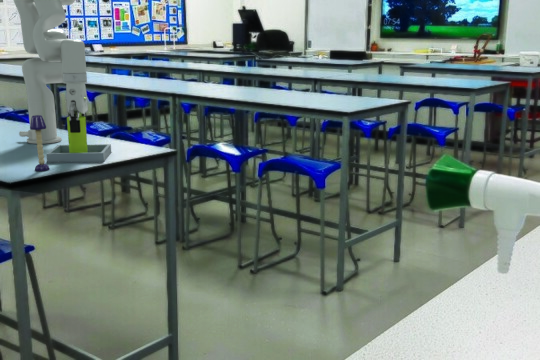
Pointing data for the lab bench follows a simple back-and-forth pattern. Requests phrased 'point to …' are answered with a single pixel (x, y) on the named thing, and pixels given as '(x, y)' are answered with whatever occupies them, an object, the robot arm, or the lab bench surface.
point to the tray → (79, 154)
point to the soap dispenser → (78, 137)
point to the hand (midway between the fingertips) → (78, 130)
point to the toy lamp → (39, 140)
